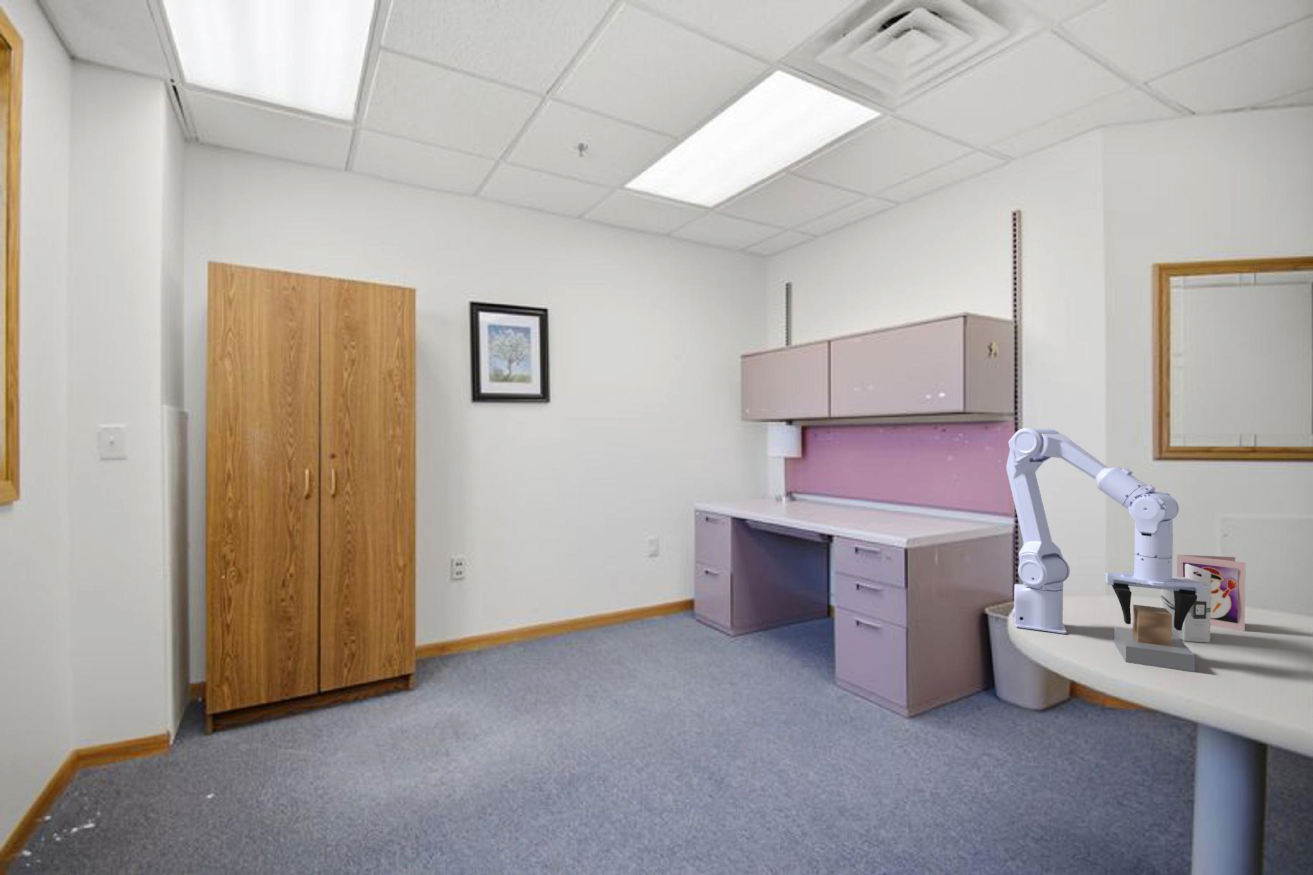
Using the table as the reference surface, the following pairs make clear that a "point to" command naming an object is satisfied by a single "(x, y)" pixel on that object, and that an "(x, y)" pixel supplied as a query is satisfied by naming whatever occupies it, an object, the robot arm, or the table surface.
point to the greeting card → (1221, 588)
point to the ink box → (1192, 608)
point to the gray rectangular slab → (1154, 652)
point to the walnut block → (1152, 625)
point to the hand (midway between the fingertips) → (1152, 625)
